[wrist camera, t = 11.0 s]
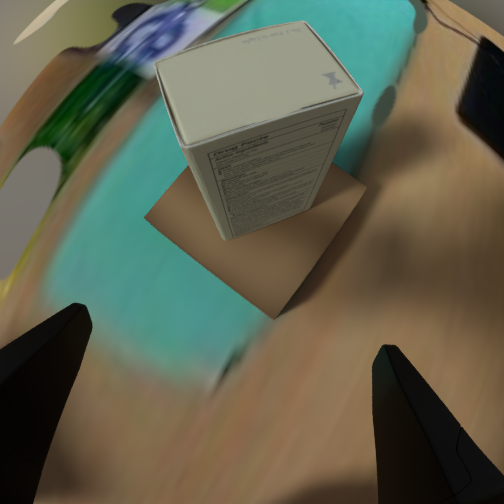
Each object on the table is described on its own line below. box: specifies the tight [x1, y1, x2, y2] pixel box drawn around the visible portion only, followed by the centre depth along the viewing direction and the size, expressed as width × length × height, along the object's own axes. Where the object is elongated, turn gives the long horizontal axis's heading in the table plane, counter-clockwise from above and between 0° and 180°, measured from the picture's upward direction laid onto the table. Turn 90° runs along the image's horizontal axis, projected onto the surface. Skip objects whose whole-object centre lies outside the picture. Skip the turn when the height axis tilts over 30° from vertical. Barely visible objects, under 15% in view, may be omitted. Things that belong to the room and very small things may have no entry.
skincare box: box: [154, 21, 364, 241], centre depth 15 cm, size 6×4×12 cm
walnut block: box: [144, 163, 368, 320], centre depth 23 cm, size 11×11×4 cm
